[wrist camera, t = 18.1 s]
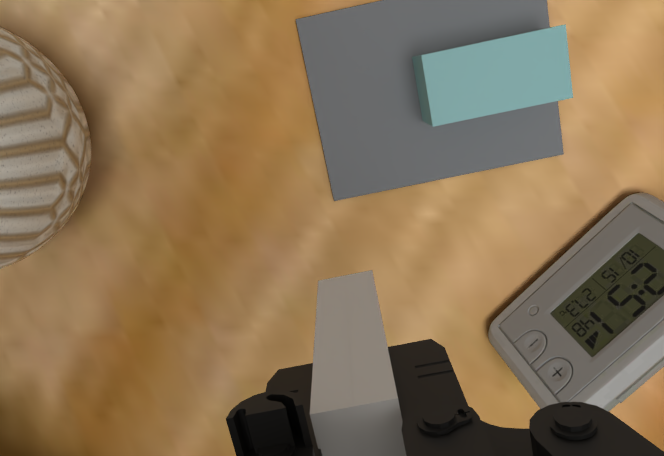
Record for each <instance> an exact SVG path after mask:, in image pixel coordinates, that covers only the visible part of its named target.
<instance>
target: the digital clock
mask: <svg viewBox="0 0 664 456" xmlns="http://www.w3.org/2000/svg"><path fill="white" fill-rule="evenodd" d="M488 338H489V340H490V342H491V344H492V345H493V347H494V348H495V350H496V351H497V352H498V353H499V355H500V356H501V357H502V359H503V360H504V361H505V363H506V364H507V365H508V367H509V368H510V369H511V371H512V372H513V373H514V374H515V376H516V377H517V378H518V380H519V381H520V382H521V384H522V385H523V386H524V388H525V389H526V390H527V392H528V393H529V394H530V396H531V397H532V398H533V399H534V401H535V402H536V403H537V405H538V406H539V407H540V409H542V408H544V407H546V406H548V405H551V404H556V403H561V402H583V403H587V404H592V405H596V406H598V407H600V408H602V409H604V410H606V411H608V412H609V411H610V410H611V409H612V408H613V407H615V406H616V405H617V404H618V403H619V402H620V403H621V402H623V401H624V400H625V399H626V398H627V397H628V396H630V395H631V394H632V393H633V392H634V391H635V390H637V389H638V388H639V387H640V386H641V385H643V384H644V383H645V382H646V381H647V380H648V379H650V378H651V377H652V376H653V375H654V374H655V373H657V372H658V371H659V370H660V369H661V368H663V367H664V202H663V201H661V200H659V199H658V198H656V197H654V196H652V195H650V194H648V193H636V194H632V195H629V196H628V197H626V198H625V199H623V200H622V201H621V202H620V203H619V204H618V205H616V206H615V207H614V208H613V209H612V210H611V211H610V212H609V213H608V214H607V215H605V216H604V217H603V218H602V219H601V220H600V221H599V222H598V223H597V224H596V225H595V226H594V227H592V228H591V229H590V230H589V231H588V232H587V233H586V234H585V235H584V236H583V237H582V238H581V239H580V240H579V241H577V242H576V243H575V244H574V245H573V246H572V247H571V248H570V249H569V250H568V251H567V252H566V253H565V254H563V255H562V256H561V257H560V258H559V259H558V260H557V261H556V262H555V263H554V264H553V265H552V266H551V267H550V268H548V269H547V270H546V271H545V272H544V273H543V274H542V275H541V276H540V277H539V278H538V279H537V280H536V281H534V282H533V283H532V284H531V285H530V286H529V287H528V288H527V289H526V290H525V291H524V292H523V293H522V294H521V295H519V296H518V297H517V298H516V299H515V300H514V301H513V302H512V303H511V304H510V305H509V306H508V307H507V308H506V309H505V310H504V311H503V312H502V313H501V314H499V315H498V316H497V317H496V318H495V320H494V321H493V322H492V323H491V325H490V328H489V332H488Z"/></svg>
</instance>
